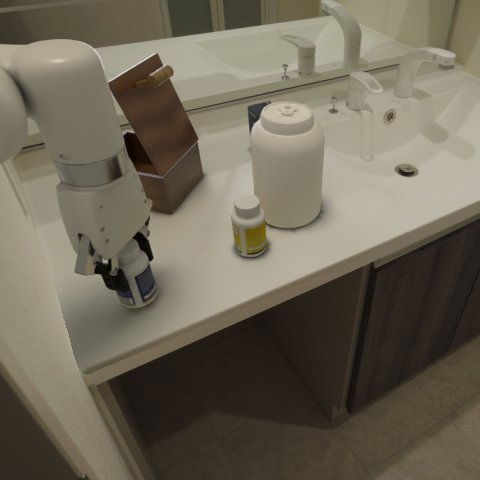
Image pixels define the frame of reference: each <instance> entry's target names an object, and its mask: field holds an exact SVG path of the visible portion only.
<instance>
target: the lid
mask: <svg viewBox="0 0 480 480" xmlns="http://www.w3.org/2000/svg"><path fill="white" fill-rule="evenodd" d="M174 72H175V71H174V69H173V67H172V66H171V65H169V64H164V63H163V62H162V59H161V57H160V55H159V53H158V52H155V53H153V54H151V55H150V56H148V57H146V58H145V59H143V60H141V61H139V62H137V63H136V64H135V65H132V66H131V67H130V68H128V69H126V70H124V71H123V72H121V73H120V74H118V75H116V76H115V77H112V78H111V79H110V80H108V84H109V88H110V91H111V95H112V97H114V100H115V101H116V102H117V104H118V107H119V108H120V110H121V112H122V113H123V115H124V117H125V118H126V120H127V122H128V123H129V125H130V127H131V129H132V131H134V132H135V134H136V136H137V137H138V139H139V141H140V143H141V144H142V146H143V148H144V149H145V151H146V153H147V155H148V156H149V158H150V160H151V162H152V163H153V165H154V167H155V169H156V170H157V172H158V174H159V176H160V177H163V176H165V175H166V174H167V172H168V171H169V170H170V169H171V168H172V167H173V166H174V165H175V164H176V163H177V162H178V161H179V160H180V159H181V158H182V157H183V156H184V155H185V154H186V153H187V151H188V150H189V149H190V148H191V147H192V146H193V145H194V144H195V143H196V142H199V140H200V139H199V137H198V135H197V132H196V130H195V128H194V126H193V124H192V121H191V119H190V117H189V116H188V115H189V114H188V113H187V111H186V109H185V107H184V105H183V102H182V101H181V98H180V97H179V94H178V92H177V90H176V88H175V87H174V84H173V83H172V80H171V78H172V77H173V76H174V74H175V73H174Z"/></svg>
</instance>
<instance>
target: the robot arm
mask: <svg viewBox="0 0 480 480" xmlns="http://www.w3.org/2000/svg"><path fill="white" fill-rule="evenodd" d="M108 81H109V80H108V77H107V74H106V69H105V66H104V63H103V60H102V58H101V56H100V54H99V53H98V51H97V50H96V49H95V48H94V47H93V46H91V45H90V44H88V43H85V42H83V41H80V40H74V39H67V38H66V39H65V38H60V39H59V38H56V39H54V38H53V39H45V40H39V41H35V42H30V43H28V44H7V43H0V165H3V164H5V163H6V162H9V161H11V160H12V159H13V158H15V157H16V156H17V155H19V153H20V152H21V151H22V149H23V148H24V147H25V144H26V142H27V139H28V135H29V123H28V119H31V120H33V121H34V123H35V125H36V126H37V129H38V132H39V133H40V136H41V138H42V141H43V143H44V146H45V148H46V151H47V152H48V156H49V158H50V160H51V162H52V165H53V167H54V169H55V172H56V174H57V177H58V179H59V181H60V182H59V183H58V184H57V185H56V186H55V187H56V199H57V202H58V209H59V212H60V216H61V219H62V223H63V226H64V228H65V232H66V235H67V237H68V240H69V242H70V246H71V247H72V250H73V251H74V252H75V253H76V254H77V256H76V261H75V265H74V273H75V274H77V275H80V276H95V275H97V276H98V275H99V276H101V278H102V280H103V283H104V286H105V288H106V289H108V290H109V291H114V292H116V290H117V291H121V292H125V293H127V292H128V290H129V285H128V282H127V280H126V277H125V274H124V271H123V270H122V269H119V268H118V252H119V251H120V250H121V249H122V248H123V247H124V246H125V245H126V244H127V243H128V242H129V241H130V240H131V238H132V239H134V240H136V241H137V243H138V245H139V248H140V250H142V251H144V252H145V253H146V255H147V257H148V259H149V263H150V262H152V261H153V260H154V258H155V257H154V253H153V250H152V246H151V243H150V239H149V238H150V234H151V230H150V229H149V224H150V220H151V216H150V214H151V211H152V210H151V207H152V204H153V201H152V200H150V199H148V198H146V195H145V192H144V189H143V186H142V183H141V181H140V178H139V176H138V173H137V171H136V169H135V167H134V165H133V163H132V161H131V160H130V158H129V156H128V153H127V149H126V146H125V142H124V137H123V135H122V133H123V131H122V128H121V125H120V121H119V117H118V113H117V109H116V106H115V102H114V99H113V94H112V92H111V90H110V88H109V84H108ZM104 261H108V264H107V262H104Z"/></svg>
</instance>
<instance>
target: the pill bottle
mask: <svg viewBox="0 0 480 480" xmlns="http://www.w3.org/2000/svg"><path fill="white" fill-rule="evenodd" d="M106 263H107V264H108V260H106ZM118 268H119V269H122V270H123V271H124V274H125V277H126V280H127V282H128V285H129V290H128V292H127V293H125V292H121V291H117V290H116V291H115V294H116V296H117V299H118V300H119V302H120V303H121V305H122V306H124V307H126V308H128V309H138V308H139V309H140V308H142V307H145V306H147V305H149V304H150V303H151V302H153V301H154V300H155V299H156V297H157V295H158V286H157V283H156V280H155V276H154V273H153V269H152V266H151V263H150V262H149V259H148V257H147V255H146V253H145V252H144V251H142V250H140V248H139V245H138V243H137V241H136V240H134V239H132V238H131V240H130V241H129V242H128V243H127V244H126V245H125V246H124V247H123V248H122V249H121V250H120V251H119V252H118Z"/></svg>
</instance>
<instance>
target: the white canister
mask: <svg viewBox="0 0 480 480" xmlns="http://www.w3.org/2000/svg"><path fill="white" fill-rule="evenodd" d="M271 103H272V104H269V105H267V106H266V107H264V108H263V110H262V112H261V115H260V119H259V120H258V121H257V122H256V123H255V124H254V126H253V127H252V130H251V134H250V133H249V142H250V144H249V145H250V155H251V156H250V157H251V168H252V181H253V183H252V184H253V195H255V196H257V197H258V198H259V200H260V208H261V209H262V210H263V211H264V213H265V223H266V224H267V225H270V226H272V227H274V228H275V227H276V228H282V229H297V228H300V227H303V226H307V225H309V224H310V223H312V222H313V221H314V220H316V218H317V217H318V215H319V214H320V211H321V208H322V195H323V178H324V161H325V160H324V159H325V141H326V139H325V134H324V130H323V128H322V125H321V124H320V123H319V122H318V121H316V119H315V115H314V112H313V110H312V109H311V107H309V105H306V104H304V103H301V102H296V101H289V100H288V101H287V100H285V101H283V100H282V101H276V102H271Z"/></svg>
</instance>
